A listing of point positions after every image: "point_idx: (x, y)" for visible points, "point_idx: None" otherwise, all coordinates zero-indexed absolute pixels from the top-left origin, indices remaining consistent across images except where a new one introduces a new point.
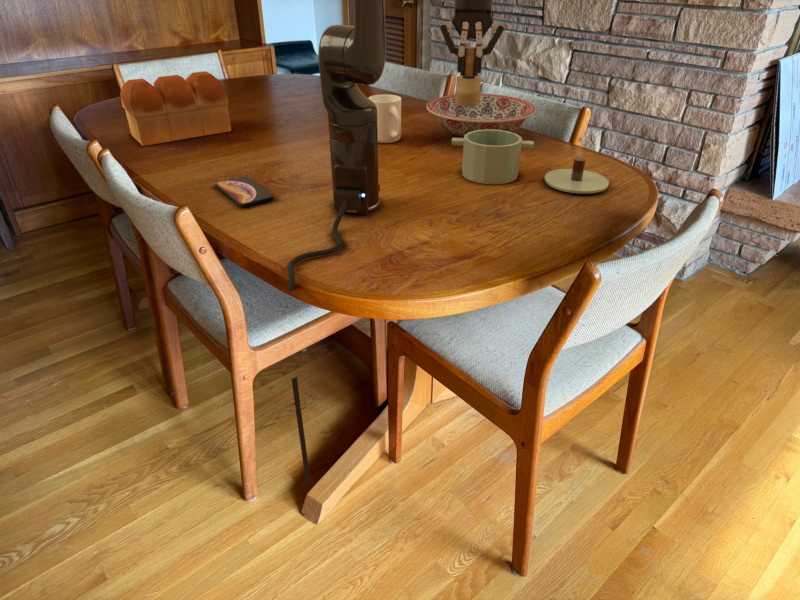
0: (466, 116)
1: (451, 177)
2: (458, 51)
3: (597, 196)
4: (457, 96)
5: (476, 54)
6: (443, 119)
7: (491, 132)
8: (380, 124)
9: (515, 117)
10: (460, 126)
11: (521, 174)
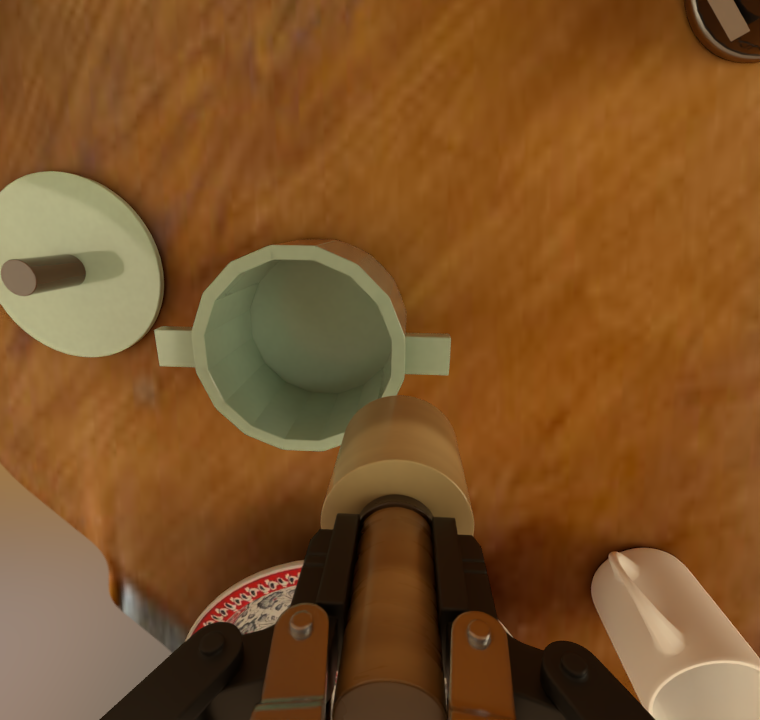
0: None
1: (436, 284)
2: (508, 657)
3: None
4: (452, 439)
5: (335, 662)
6: None
7: (307, 437)
8: (687, 590)
9: (235, 599)
10: None
11: None
